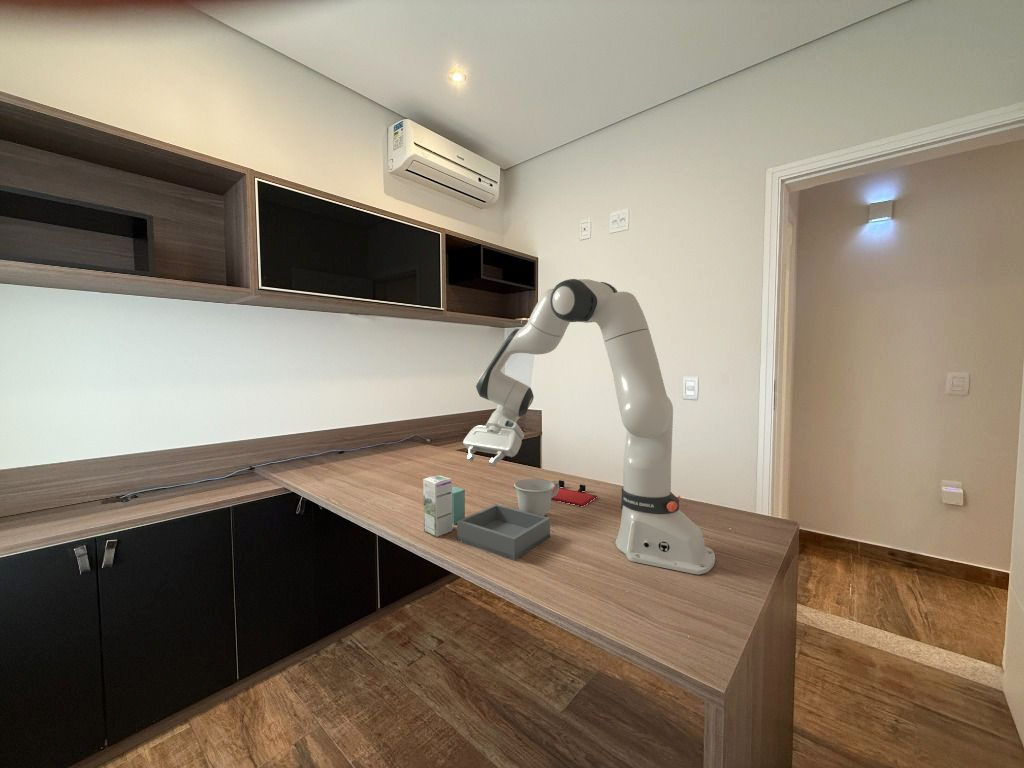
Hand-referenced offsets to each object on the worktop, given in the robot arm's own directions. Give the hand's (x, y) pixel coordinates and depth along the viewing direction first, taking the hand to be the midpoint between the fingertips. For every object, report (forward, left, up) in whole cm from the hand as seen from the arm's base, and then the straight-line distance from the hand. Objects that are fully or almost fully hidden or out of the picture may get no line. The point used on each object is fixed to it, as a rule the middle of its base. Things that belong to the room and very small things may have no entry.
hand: (480, 462), depth 125 cm
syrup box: (-2, +20, -15) cm, 25 cm away
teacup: (-18, -5, -15) cm, 24 cm away
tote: (-19, +13, -15) cm, 27 cm away
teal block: (0, +12, -15) cm, 19 cm away
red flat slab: (-10, -28, -15) cm, 33 cm away
